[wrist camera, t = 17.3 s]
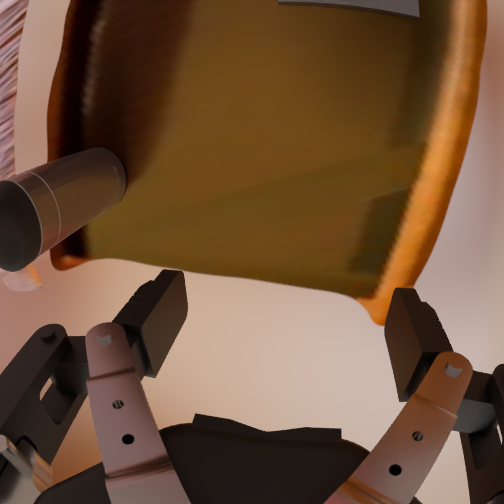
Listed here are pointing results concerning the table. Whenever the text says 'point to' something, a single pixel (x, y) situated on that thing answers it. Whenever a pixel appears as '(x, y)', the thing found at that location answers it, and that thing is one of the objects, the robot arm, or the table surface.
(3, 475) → the robot arm
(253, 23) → the table surface
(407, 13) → the tan pot on tray
